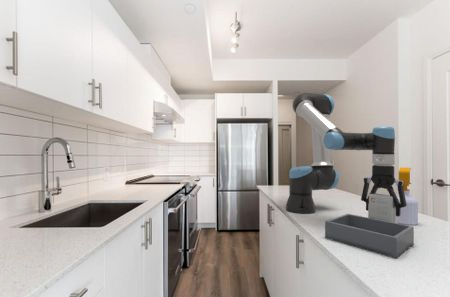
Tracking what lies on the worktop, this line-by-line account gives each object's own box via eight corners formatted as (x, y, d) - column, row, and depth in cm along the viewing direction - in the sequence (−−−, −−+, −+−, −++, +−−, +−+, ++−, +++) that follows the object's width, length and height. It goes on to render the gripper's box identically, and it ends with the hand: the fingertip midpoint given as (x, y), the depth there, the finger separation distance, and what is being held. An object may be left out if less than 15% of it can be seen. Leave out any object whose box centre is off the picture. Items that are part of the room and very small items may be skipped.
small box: (396, 228, 97) (397, 195, 97) (391, 231, 93) (391, 197, 93) (374, 223, 103) (374, 192, 103) (368, 226, 99) (368, 194, 99)
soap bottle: (418, 222, 110) (418, 167, 110) (416, 226, 103) (416, 168, 104) (394, 218, 116) (394, 166, 116) (391, 222, 109) (391, 167, 110)
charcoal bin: (325, 237, 88) (325, 221, 89) (347, 228, 100) (347, 213, 100) (396, 258, 71) (396, 238, 72) (413, 244, 83) (413, 226, 83)
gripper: (352, 163, 104) (351, 217, 104) (412, 167, 88) (411, 230, 88) (359, 163, 109) (358, 214, 109) (417, 166, 93) (417, 226, 93)
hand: (382, 221), depth 98 cm, fingers closed on small box, 8 cm apart
